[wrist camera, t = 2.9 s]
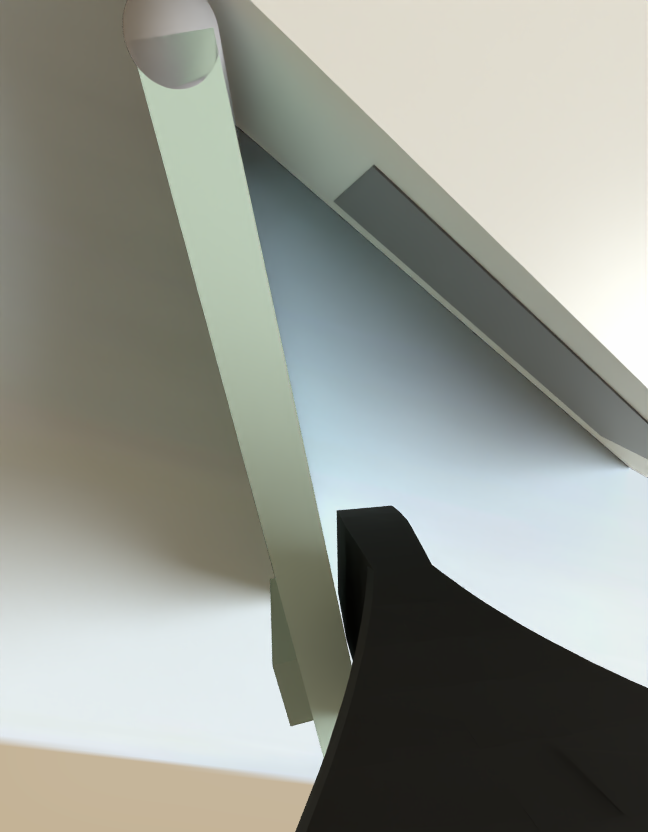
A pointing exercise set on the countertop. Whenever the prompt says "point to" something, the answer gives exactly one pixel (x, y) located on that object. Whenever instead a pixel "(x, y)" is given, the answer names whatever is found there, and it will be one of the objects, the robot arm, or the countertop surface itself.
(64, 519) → the countertop surface
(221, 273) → the side door
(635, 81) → the camera box
